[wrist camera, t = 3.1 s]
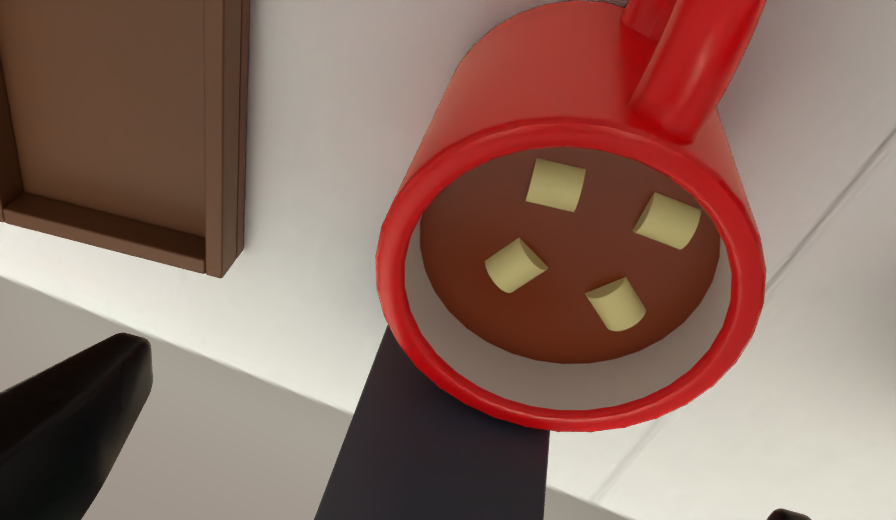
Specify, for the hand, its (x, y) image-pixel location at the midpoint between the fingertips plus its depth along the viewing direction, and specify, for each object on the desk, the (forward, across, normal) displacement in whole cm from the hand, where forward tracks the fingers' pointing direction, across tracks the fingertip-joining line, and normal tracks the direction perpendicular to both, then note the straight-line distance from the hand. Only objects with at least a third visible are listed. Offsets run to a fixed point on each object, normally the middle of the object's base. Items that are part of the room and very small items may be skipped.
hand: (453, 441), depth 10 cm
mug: (+13, -2, -1) cm, 13 cm away
